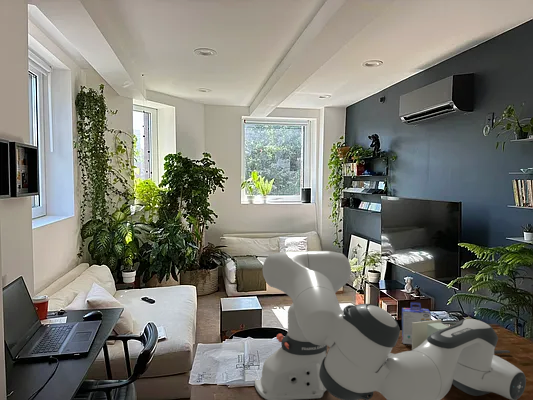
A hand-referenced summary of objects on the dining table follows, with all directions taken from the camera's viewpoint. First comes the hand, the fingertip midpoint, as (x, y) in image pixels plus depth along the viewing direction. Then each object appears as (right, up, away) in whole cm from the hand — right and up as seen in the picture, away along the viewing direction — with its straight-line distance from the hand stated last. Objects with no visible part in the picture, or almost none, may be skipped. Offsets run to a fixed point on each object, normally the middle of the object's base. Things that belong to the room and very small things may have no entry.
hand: (437, 341), depth 125 cm
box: (0, -8, -1) cm, 8 cm away
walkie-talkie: (+18, -8, +11) cm, 23 cm away
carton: (+1, -8, -3) cm, 8 cm away
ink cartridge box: (0, -7, +18) cm, 19 cm away
